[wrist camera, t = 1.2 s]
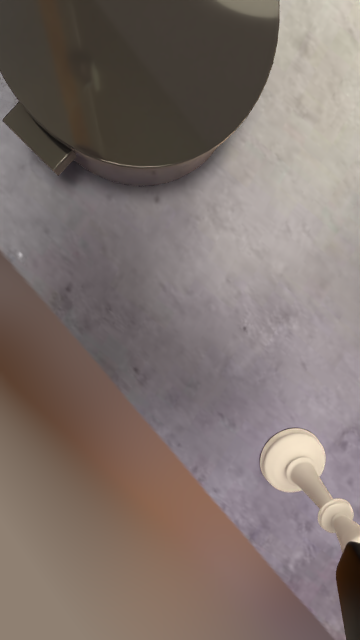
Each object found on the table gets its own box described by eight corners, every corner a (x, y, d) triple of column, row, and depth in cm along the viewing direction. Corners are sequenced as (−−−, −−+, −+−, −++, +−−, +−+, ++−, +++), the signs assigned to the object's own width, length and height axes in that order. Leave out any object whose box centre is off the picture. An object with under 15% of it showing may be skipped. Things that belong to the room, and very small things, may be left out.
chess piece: (248, 451, 24) (325, 585, 14) (304, 415, 24) (421, 524, 14) (277, 498, 25) (368, 654, 15) (331, 464, 25) (457, 597, 15)
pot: (129, 247, 20) (126, 243, 15) (-43, 76, 17) (-116, 3, 12) (297, 74, 19) (350, 10, 14) (146, -132, 17) (149, -296, 12)
